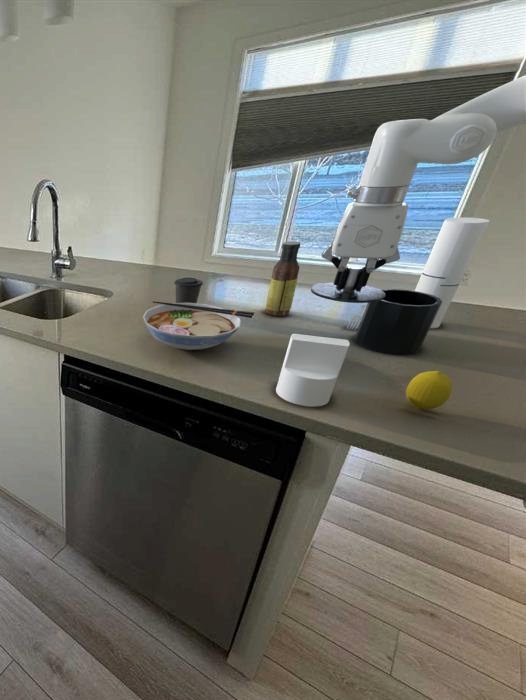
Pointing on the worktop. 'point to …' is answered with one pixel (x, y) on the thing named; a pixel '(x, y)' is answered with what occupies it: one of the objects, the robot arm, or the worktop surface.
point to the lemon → (429, 390)
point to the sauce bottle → (283, 281)
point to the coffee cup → (187, 290)
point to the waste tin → (397, 322)
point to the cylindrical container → (450, 260)
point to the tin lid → (349, 289)
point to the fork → (355, 319)
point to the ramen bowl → (192, 324)
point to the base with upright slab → (311, 369)
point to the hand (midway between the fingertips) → (347, 288)
